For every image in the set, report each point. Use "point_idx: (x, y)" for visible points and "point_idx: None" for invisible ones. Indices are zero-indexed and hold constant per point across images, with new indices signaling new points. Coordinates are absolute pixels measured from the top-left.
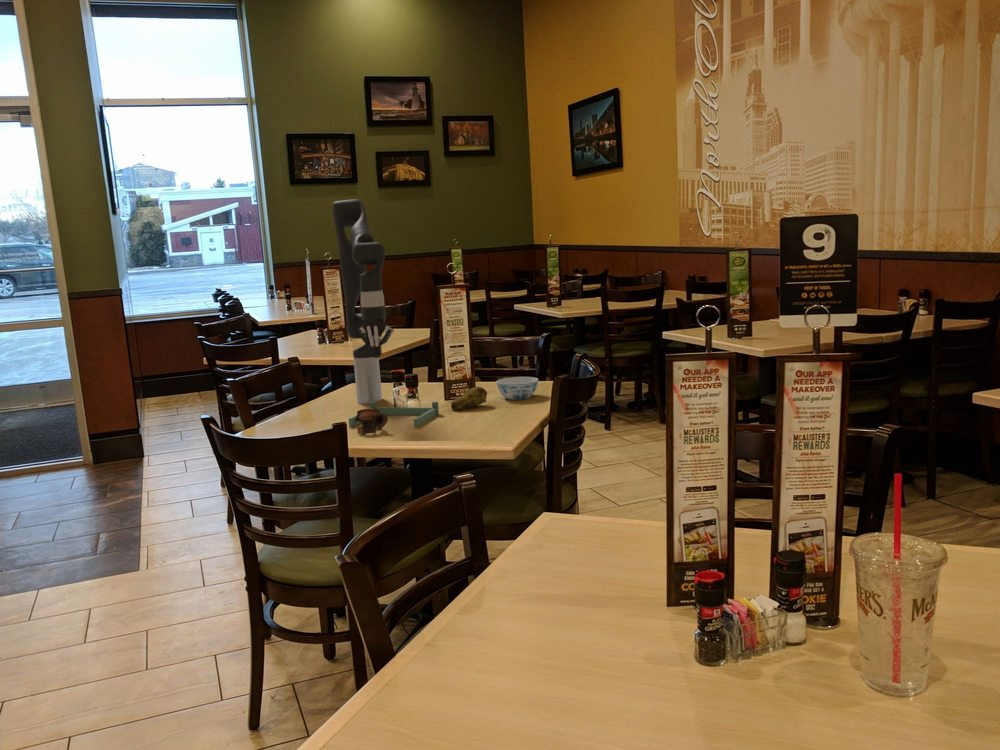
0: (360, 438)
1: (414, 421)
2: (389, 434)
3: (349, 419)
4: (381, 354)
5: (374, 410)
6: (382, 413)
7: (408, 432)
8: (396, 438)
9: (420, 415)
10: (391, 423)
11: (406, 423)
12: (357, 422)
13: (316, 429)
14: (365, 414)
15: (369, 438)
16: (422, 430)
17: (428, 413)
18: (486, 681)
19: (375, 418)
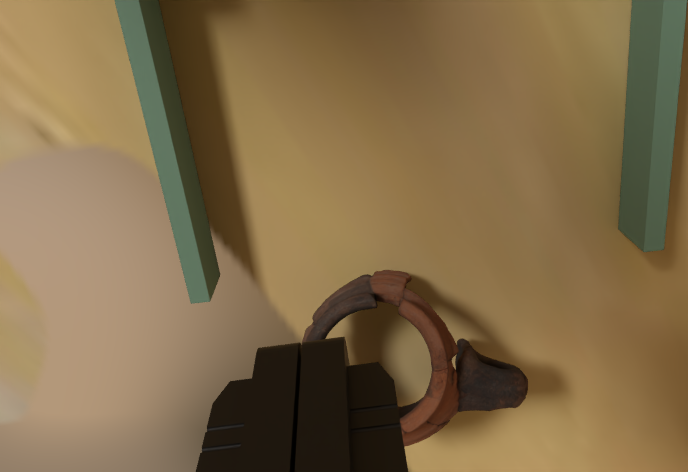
0: (419, 452)
1: (640, 244)
2: (529, 367)
3: (198, 299)
4: (385, 374)
5: (439, 401)
6: (505, 406)
7: (618, 315)
8: (602, 424)
9: (654, 148)
10: (407, 134)
11: (511, 117)
12: (202, 212)
13: (43, 345)
14: (407, 443)
15: (464, 445)
16: (684, 263)
17: (679, 41)
18: None
19: (388, 298)
